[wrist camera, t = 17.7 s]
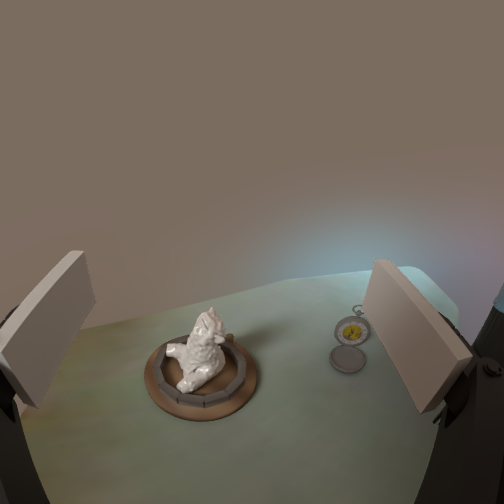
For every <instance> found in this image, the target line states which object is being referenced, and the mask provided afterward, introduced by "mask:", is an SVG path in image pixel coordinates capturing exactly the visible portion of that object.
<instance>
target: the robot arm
mask: <svg viewBox="0 0 504 504" xmlns="http://www.w3.org/2000/svg"><path fill="white" fill-rule="evenodd" d="M95 303H96V300H95V296H94V293H93V288H92V284H91V280H90V275H89V271H88V266H87V262H86V257H85V252H84V251H70V252H69V253H68V254H67V255H66V256H65V257H64V258H63V259H62V260H61V261H60V262H59V263H58V264H57V265H56V266H55V267H54V268H53V269H52V270H51V271H50V272H49V273H48V274H47V276H46V277H45V278H44V279H43V280H42V281H41V282H40V283H39V284H38V285H37V286H36V287H35V288H34V289H33V291H32V292H31V293H30V294H29V295H28V296H27V297H26V299H25V300H24V301H23V302H22V303H21V304H20V305H18V306H17V307H15V308H14V309H13V310H11V312H10V313H9V314H8V315H7V316H6V318H5V320H3V321H2V322H1V324H0V504H50V502H49V500H48V498H47V496H46V494H45V491H44V489H43V487H42V484H41V482H40V479H39V477H38V474H37V472H36V469H35V466H34V464H33V461H32V458H31V455H30V452H29V449H28V446H27V442H26V439H25V436H24V432H23V428H22V425H21V421H20V417H19V412H18V408H17V404H16V402H15V401H14V399H13V397H14V396H15V394H17V395H18V396H19V398H20V399H21V400H22V402H23V403H24V404H27V405H30V406H32V407H35V408H37V409H39V407H40V405H41V402H42V400H43V398H44V396H45V394H46V392H47V390H48V387H49V385H50V383H51V381H52V379H53V377H54V375H55V373H56V371H57V369H58V368H59V366H60V364H61V362H62V360H63V358H64V356H65V354H66V353H67V351H68V349H69V347H70V345H71V343H72V342H73V340H74V338H75V336H76V335H77V333H78V331H79V329H80V328H81V326H82V324H83V323H84V321H85V319H86V318H87V316H88V314H89V312H90V311H91V309H92V308H93V306H94V305H95ZM493 304H494V305H493V307H492V309H491V311H490V314H489V316H488V318H487V320H486V321H485V323H484V325H483V327H482V329H481V331H480V332H479V334H478V336H477V338H476V340H475V341H474V343H473V345H472V346H470V345H469V344H468V342H467V341H466V340H465V339H464V337H463V336H462V335H460V333H459V331H458V330H457V329H455V326H454V325H453V324H452V323H451V322H450V320H449V319H448V318H446V317H445V316H443V315H442V314H441V313H439V312H437V311H436V310H435V308H434V307H433V306H432V305H431V304H430V303H429V302H428V300H427V299H426V298H425V297H424V296H423V295H422V294H421V293H420V292H419V290H418V289H417V288H416V287H415V286H414V285H413V284H412V283H411V282H410V281H409V280H408V278H407V277H406V276H405V275H404V274H403V273H402V272H401V271H400V270H399V269H398V268H397V267H396V266H395V265H394V264H393V263H392V262H391V261H390V260H389V259H375V263H374V267H373V270H372V274H371V278H370V281H369V285H368V288H367V291H366V295H365V298H364V301H363V305H362V310H363V312H364V313H365V315H366V317H367V318H368V320H369V322H370V323H371V325H372V327H373V328H374V330H375V332H376V334H377V335H378V337H379V339H380V340H381V342H382V344H383V346H384V347H385V349H386V351H387V353H388V355H389V356H390V358H391V360H392V362H393V364H394V365H395V367H396V369H397V371H398V373H399V375H400V376H401V378H402V380H403V382H404V384H405V386H406V388H407V390H408V391H409V393H410V395H411V397H412V399H413V401H414V403H415V405H416V407H417V409H418V411H419V413H420V414H422V413H425V412H428V411H431V410H434V409H436V407H437V406H438V405H439V404H440V402H441V401H442V400H443V399H444V400H445V402H446V406H445V407H444V408H443V409H442V411H441V412H440V413H439V414H438V415H437V416H436V418H435V419H434V421H433V423H434V424H435V423H436V422H437V421H438V419H439V418H441V420H440V423H439V424H438V425H439V429H438V433H437V437H436V440H435V444H434V448H433V451H432V455H431V458H430V461H429V465H428V468H427V471H426V474H425V477H424V479H423V482H422V485H421V488H420V490H419V493H418V495H417V498H416V500H415V503H414V504H504V284H503V286H502V288H501V290H500V292H499V294H498V296H497V297H496V298H495V300H494V303H493Z"/></svg>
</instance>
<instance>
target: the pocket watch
mask: <svg viewBox="0 0 504 504" xmlns="http://www.w3.org/2000/svg"><path fill="white" fill-rule="evenodd" d="M357 306H362V305H356V306H354V307H353V312H354V313H355V314H356V315H357V316H349V317H346V318H344V319H342V320H341V321H339V323H338V324H337V325H336V327H335V331H334V334H335V338H336V339H337V341H338V342H339V343H341V344H343V345H341V346H337V347H335V348H334V349H333V350H332V351H331V353H330V362H331V364H332V365H333V366H334V367H335V368H336V369H338V370H340V371H342V372H346V373H354V372H357V371H359V370H360V369H362V367H363V366H364V364H365V357H364V355H363V354H362V352H361V351H359V350H358V349H356V348H354V347H353V346H357V345H360V344H362V343H364V342H365V341H366V340H367V339H368V338H369V336H370V330H371V329H370V325H369V324H368V322H367V321H366V320H365V319H363V318H361V317H359V316H360V315H362V314H364V312H363V313H362V312H361V311H360V310H358V311H357V312H355V311H354V308H355V307H357ZM358 328H359V329H361V331H360V330H359V329H358ZM358 330H359V331H358ZM347 333H350V334H347ZM357 333H358V334H359V333H361V334H360V335H358V334H357ZM345 335H349V336H348V337H347V336H345ZM355 335H356V336H355Z"/></svg>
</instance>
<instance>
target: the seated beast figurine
mask: <svg viewBox="0 0 504 504" xmlns="http://www.w3.org/2000/svg"><path fill="white" fill-rule="evenodd" d="M224 331H225V327H224V326H223V322H222V321H221V319H220V318H219V317H218V316H217V315H216V312H215V309H214V307H211V308H210V310H209V311H208V312H206V311H205V312H204V313H202V314H200V317H198V318H197V322H196V324H195V327H194V329H193V331H192V333H191V334H190V337H189V338H188V341H187V344H186V345H185V344H182V343H177V344H176V343H173V344H167V350H166V356H169V357H174V358H176V359H177V360H178V361H179V363H180V366H181V369H183V376H184V378H183V379H182V380H181V381H180V382H179V383H178V384H177V390H178V391H179V392H180V393H184V394H188V393H193V391H194V390H197V389H198V387H201V385H204V384H205V383H206V382H207V381H209V380H210V379H211V378H213V377H214V376H215V375H217V374H218V373H219V372H220V371H221V370H222V368H223V367H224V365H225V363H226V362H225V356H224V353H223V351H222V350H221V347H220V346H218V343H224V342H225V338H224ZM194 369H195V372H193V371H194Z"/></svg>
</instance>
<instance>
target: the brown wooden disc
mask: <svg viewBox="0 0 504 504" xmlns="http://www.w3.org/2000/svg"><path fill="white" fill-rule="evenodd" d="M189 337H190V335H186V336H182V337H178V338H175V339H172V340H170V341H168V342H166V343H165V344H163V345H161V346H160V347H159V348H158V349H156V350H155V351H154V353H153V354H152V355H151V356H150V358H149V360H148V361H147V364H146V367H145V372H144V379H145V384H146V387H147V390H148V392H149V395H150V396H151V398H152V399H153V401H154V402H155V403H156V404H157V405H158V406H159V407H160V408H161V409H162V410H164V411H165V412H167V413H169V414H171V415H173V416H175V417H178V418H181V419H184V420H189V421H198V422H202V421H213V420H218V419H222V418H224V417H227V416H229V415H231V414H233V413H235V412H237V411H238V410H239V409H241V408H242V407H243V406H244V405H245V404H246V403H247V402H248V401H249V399H250V398H251V396H252V395H253V393H254V390H255V387H256V380H257V370H256V366H255V363H254V361H253V359H252V358H251V356H250V355H249V353H248V352H247V351H246V350H245V349H244V348H242V347H241V346H240V345H238V344H237V343H235V342H233V334H227V335H226V338H225V342H224V343H218V346H220V347H221V350H222V351H223V353H224V356H225V362H226V363H225V365H224V367H223V368H222V370H221V371H220V372H219V373H218V374H217V375H215V376H214V377H213V378H211V379H210V380H209V381H207V382H206V383H205V384H204V385H201V387H198V389H197V390H194V391H193V393H188V394H184V393H180V392H179V391H178V390H177V384H178V383H179V382H180V381H181V380H182V379H183V378H184V376H183V369H181V366H180V363H179V361H178V360H177V359H176V358H174V357H169V356H166V350H167V344H173V343H176V344H177V343H182V344H185V345H186V344H187V341H188V338H189ZM193 372H195V369H194V371H193Z"/></svg>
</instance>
